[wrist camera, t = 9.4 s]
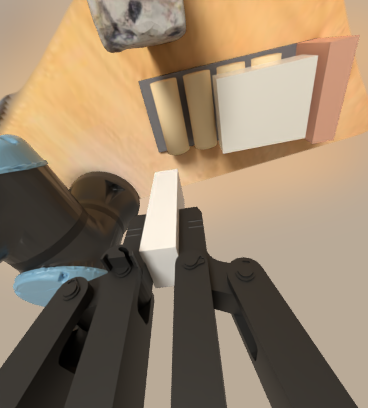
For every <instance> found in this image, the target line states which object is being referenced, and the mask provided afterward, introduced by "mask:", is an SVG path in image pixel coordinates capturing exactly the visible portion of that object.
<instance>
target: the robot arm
mask: <svg viewBox="0 0 368 408" xmlns="http://www.w3.org/2000/svg"><path fill="white" fill-rule="evenodd" d="M47 164H48V162H47V161H46V160H43V159H42V158H41V157H40V156H39V155H38V154H37V153H36V152H35V150H34V149H33V148H32V147H31V146H30V145H29V144H28V143H27V142H26V141H25V140H23V139H22V138H20V137H18V136H15V135H1V136H0V263H1V262H2V261H5V262H7V263H8V264H10V265H11V266H12V267H14V268H15V269H17V270H18V271H19V272H20V274H19V275H18V276H17V277H16V278H15V283H14V286H13V288H14V290H15V293H16V295H17V296H18V297H20V298H22V299H23V300H25V301H27V302H30V303H32V304H35V305H40V306H44V307H45V308H44V309H43V311H42V312H41V313H40V315H39V316H38V318H37V319H36V320H35V321H34V323H33V324H32V326H31V327H30V328H29V330H28V331H27V332H26V334H25V335H24V337H23V338H22V339H21V341H20V342H19V343H18V345H17V346H16V348H15V349H14V350H13V352H12V353H11V355H10V356H9V357H8V358H7V360H6V361H5V363H4V364H3V365H2V367H1V368H0V408H143V407H144V398H145V397H144V396H145V388H146V377H147V368H148V358H149V348H150V338H151V328H152V317H153V308H154V295H153V293H152V285H153V283H154V286H155V287H156V288H161V287H170V286H174V318H173V351H172V353H173V354H172V386H171V387H172V388H171V408H227V405H226V397H225V388H224V380H223V373H222V365H221V357H220V349H219V341H218V334H217V325H216V318H215V310H214V309H216V310H221V311H224V312H228V313H231V314H232V317H233V319H234V322H235V324H236V326H237V328H238V331H239V333H240V335H241V338H242V340H243V342H244V345H245V347H246V349H247V352H248V354H249V356H250V359H251V361H252V363H253V365H254V368H255V370H256V372H257V375H258V377H259V379H260V382H261V384H262V386H263V388H264V391H265V393H266V395H267V398H268V400H269V402H270V404H271V406H272V408H358V407H357V405H356V404H355V402H354V401H353V400H352V398H351V397H350V395H349V394H348V392H347V391H346V390H345V388H344V386H343V385H342V384H341V382H340V381H339V379H338V378H337V376H336V375H335V373H334V372H333V370H332V369H331V367H330V366H329V364H328V363H327V362H326V360H325V359H324V357H323V356H322V354H321V353H320V351H319V350H318V348H317V347H316V345H315V344H314V343H313V341H312V340H311V338H310V337H309V335H308V334H307V332H306V331H305V329H304V328H303V326H302V325H301V323H300V322H299V320H298V319H297V318H296V316H295V315H294V313H293V312H292V310H291V309H290V307H289V306H288V304H287V303H286V301H285V300H284V299H283V297H282V296H281V294H280V293H279V291H278V290H277V288H276V287H275V285H274V284H273V283H272V281H271V279H270V278H269V277H268V275H267V274H266V272H265V271H264V269H263V268H262V267H261V266H260V264H259V263H258V262H256V261H254V260H252V259H250V258H244V257H243V258H237V259H235V260H233V261H231V263H226V262H221V261H217V260H215V259H213V258H212V257H211V256H210V255H209V254H208V252H207V249H206V241H205V233H204V226H203V219H202V213H201V211H200V210H199V209H198V208H197V207H192V208H184V198H183V193H182V188H181V183H180V178H179V173H178V169H173V170H166V171H160V172H155V175H154V180H153V185H152V190H151V195H150V200H149V205H148V210H147V214H145V215H138V211H139V207H140V201H139V197H138V194H137V193H136V191H135V189H134V188H133V187H132V186H131V185H130V184H129V183H128V182H127V181H126V180H124V179H123V178H121V177H119V176H117V175H114V174H111V173H107V172H90V173H86V174H84V175H82V176H80V177H79V178H78V179H76V181H75V182H74V183H73V184H72V186H71V187H70V189H69V190H68V189H67V188H66V186H65V185H64V184H63V183H62V182H61V180H60V179H59V178H58V177H57V176H56V174H55V173H54V172H53V171H52V170H51V168H50V167H49V166H48V165H47ZM126 230H127V233H126V237H125V239H124V243H123V245H120V244H121V241H122V237H123V234H124V232H125V231H126Z"/></svg>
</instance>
